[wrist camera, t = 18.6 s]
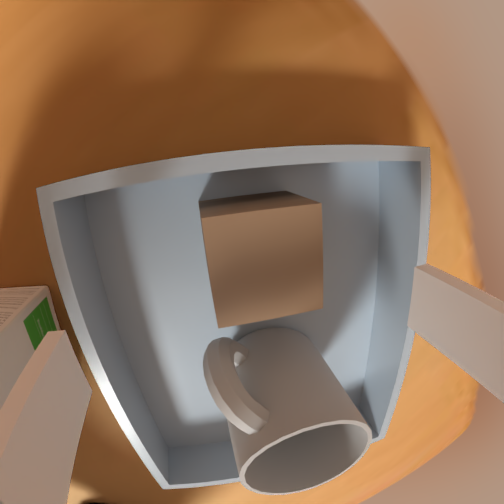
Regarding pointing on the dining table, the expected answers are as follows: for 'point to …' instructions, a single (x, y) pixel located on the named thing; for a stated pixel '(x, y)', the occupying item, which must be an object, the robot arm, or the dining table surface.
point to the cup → (283, 411)
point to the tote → (199, 290)
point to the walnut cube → (263, 256)
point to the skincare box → (22, 330)
